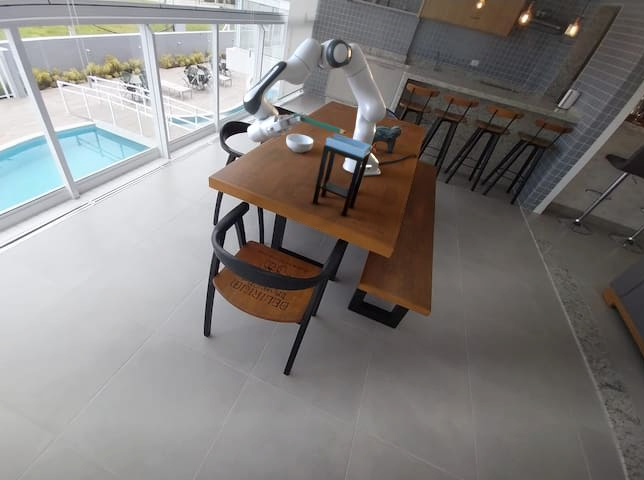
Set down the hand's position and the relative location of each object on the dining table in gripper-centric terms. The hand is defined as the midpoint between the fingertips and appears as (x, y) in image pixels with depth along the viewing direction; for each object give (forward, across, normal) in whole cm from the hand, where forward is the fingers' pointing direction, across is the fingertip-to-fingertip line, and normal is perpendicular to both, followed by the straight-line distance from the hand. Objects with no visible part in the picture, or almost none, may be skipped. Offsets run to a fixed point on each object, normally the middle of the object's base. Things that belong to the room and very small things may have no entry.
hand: (302, 117), depth 128 cm
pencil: (+6, 0, +5) cm, 8 cm away
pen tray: (+17, 0, +17) cm, 24 cm away
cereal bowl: (-36, +46, +18) cm, 61 cm away
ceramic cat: (-2, +91, +38) cm, 98 cm away
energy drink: (+5, +20, +42) cm, 47 cm away
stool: (+3, 0, +40) cm, 40 cm away
